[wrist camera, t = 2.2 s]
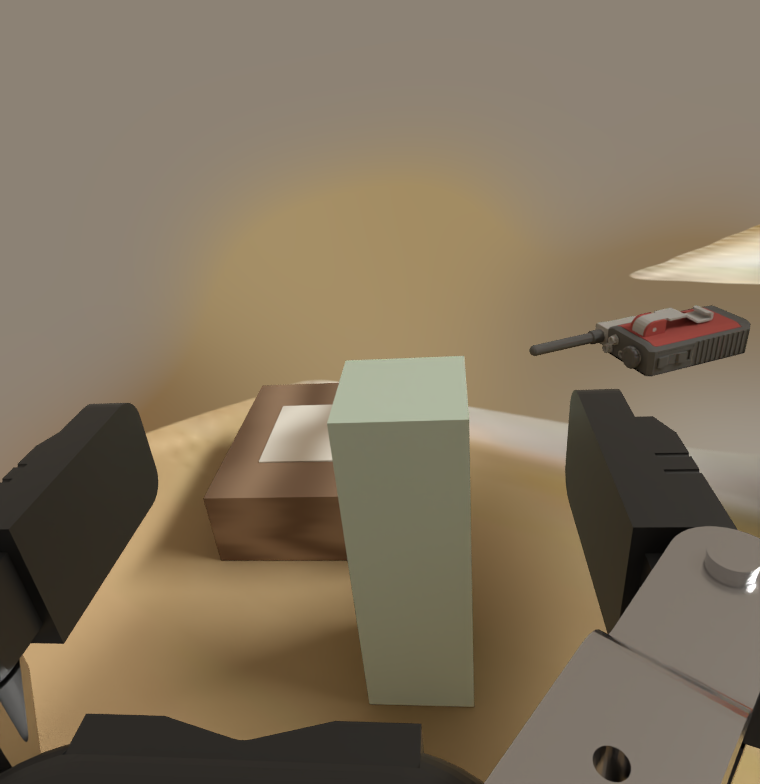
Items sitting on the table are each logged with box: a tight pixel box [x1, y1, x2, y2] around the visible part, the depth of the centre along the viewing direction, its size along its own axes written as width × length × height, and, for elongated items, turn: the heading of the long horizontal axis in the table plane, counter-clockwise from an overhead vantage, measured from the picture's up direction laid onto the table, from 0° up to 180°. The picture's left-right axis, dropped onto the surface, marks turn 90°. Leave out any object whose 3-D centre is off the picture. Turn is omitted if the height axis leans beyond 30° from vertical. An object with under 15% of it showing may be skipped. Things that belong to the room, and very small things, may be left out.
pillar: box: [327, 356, 474, 707], centre depth 27 cm, size 5×5×16 cm
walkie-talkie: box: [530, 305, 750, 376], centre depth 58 cm, size 9×4×20 cm
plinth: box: [203, 383, 347, 560], centre depth 43 cm, size 12×14×5 cm
